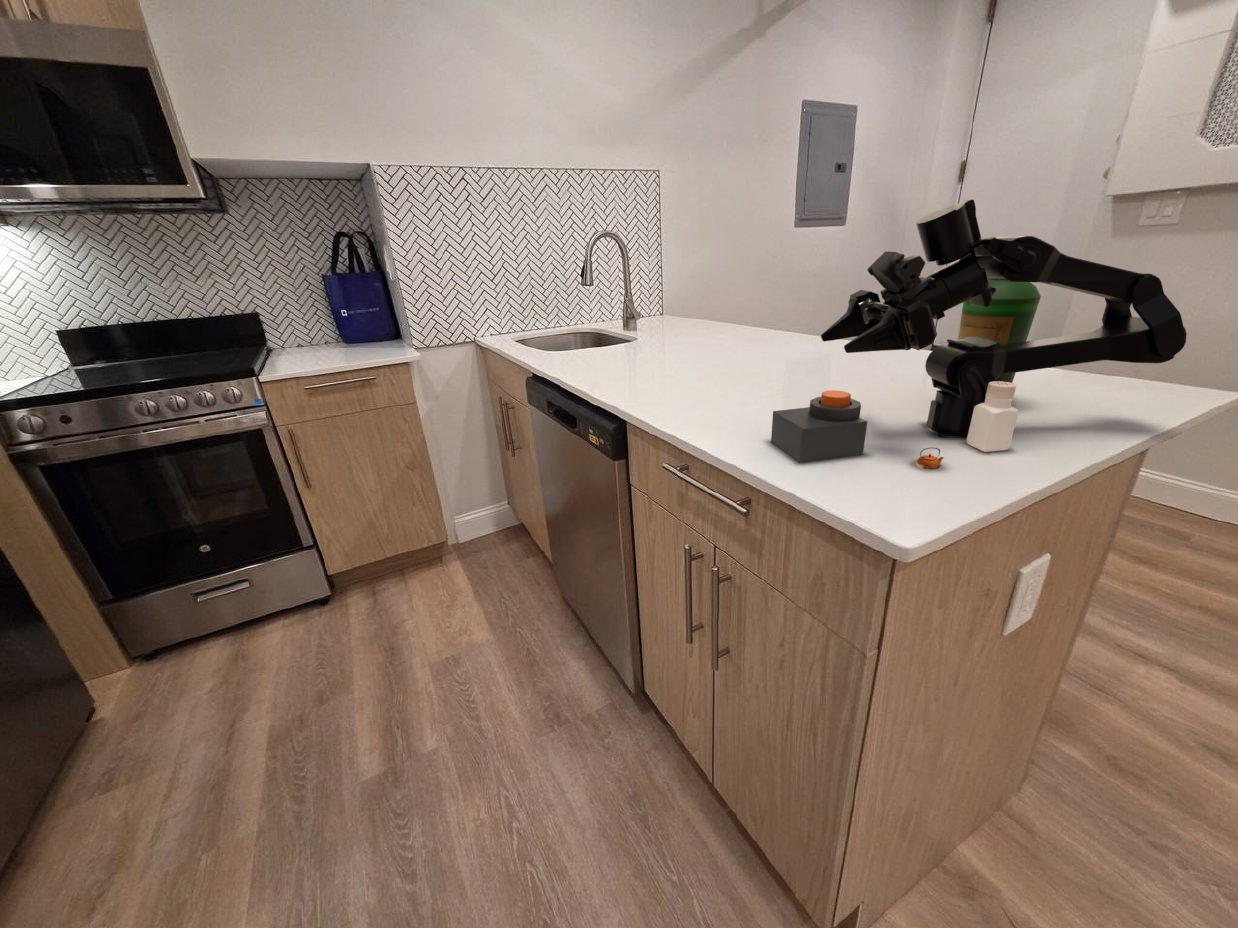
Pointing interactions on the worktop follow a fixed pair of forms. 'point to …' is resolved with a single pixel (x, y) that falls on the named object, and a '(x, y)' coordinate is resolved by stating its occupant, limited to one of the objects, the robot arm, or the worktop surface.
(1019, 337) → the bottle
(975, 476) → the worktop surface
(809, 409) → the push button base
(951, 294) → the robot arm
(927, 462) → the teapot
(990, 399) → the pepper shaker
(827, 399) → the orange push button
